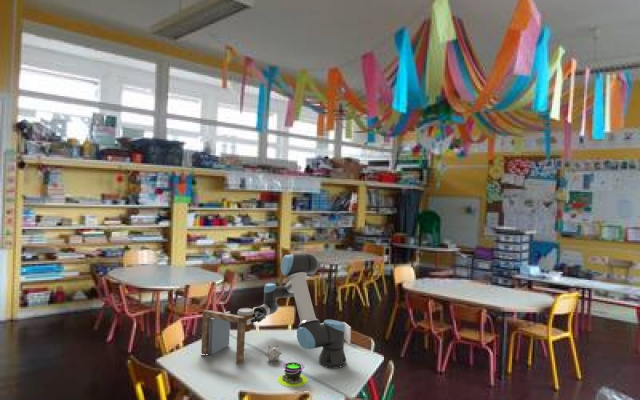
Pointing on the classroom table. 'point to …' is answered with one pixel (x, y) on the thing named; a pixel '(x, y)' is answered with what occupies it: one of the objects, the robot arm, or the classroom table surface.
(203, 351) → the door frame
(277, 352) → the game die
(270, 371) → the classroom table surface
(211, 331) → the door
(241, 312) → the disposable coffee cup
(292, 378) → the toy cauldron
